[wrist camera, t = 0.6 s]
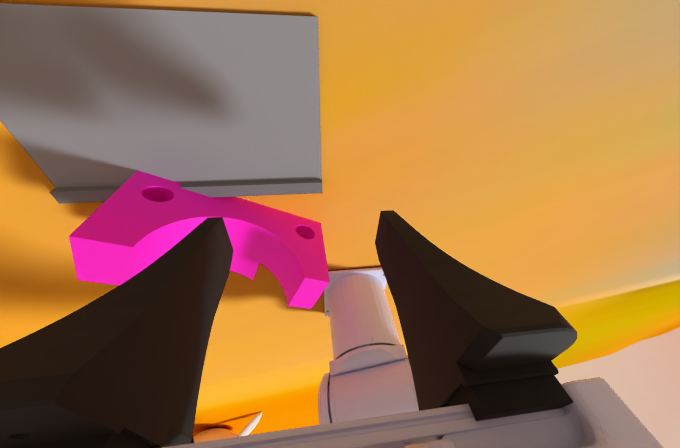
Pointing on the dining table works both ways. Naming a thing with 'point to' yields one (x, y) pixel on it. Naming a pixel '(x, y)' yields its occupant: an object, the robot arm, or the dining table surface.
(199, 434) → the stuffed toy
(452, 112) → the dining table surface
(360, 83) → the dining table surface
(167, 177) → the rubber mat
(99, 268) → the toy block
